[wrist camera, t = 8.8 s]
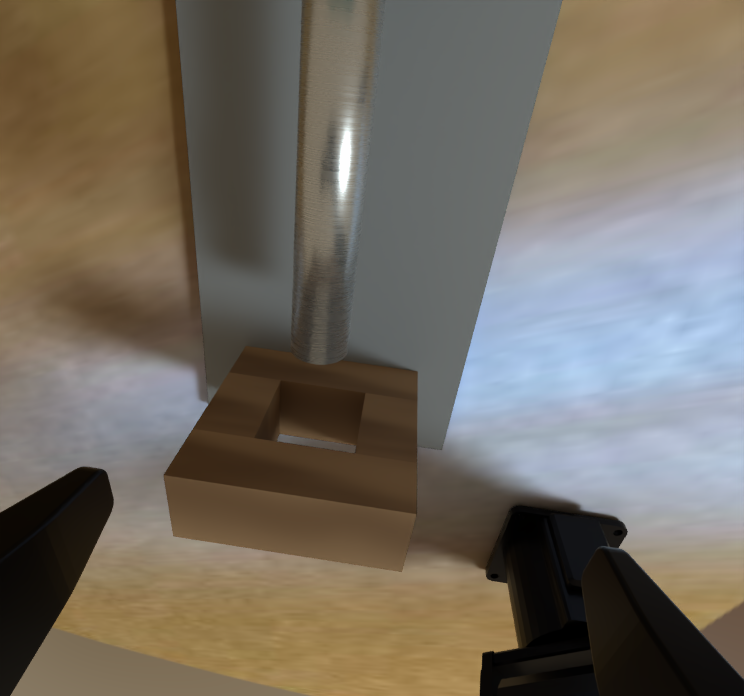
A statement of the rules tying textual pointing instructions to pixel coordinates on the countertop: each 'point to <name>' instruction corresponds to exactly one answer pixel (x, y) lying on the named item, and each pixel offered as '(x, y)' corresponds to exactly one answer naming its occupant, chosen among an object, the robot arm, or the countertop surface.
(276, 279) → the base board
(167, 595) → the countertop surface
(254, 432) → the square wooden collar
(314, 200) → the green cube on rod
